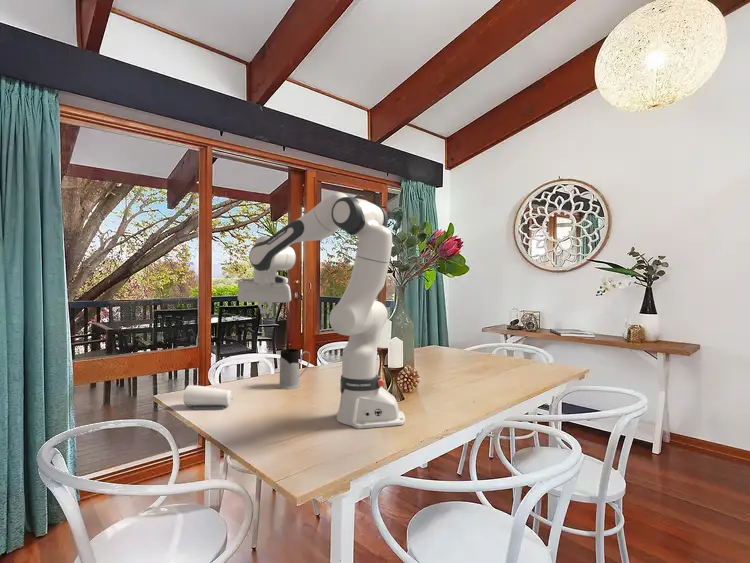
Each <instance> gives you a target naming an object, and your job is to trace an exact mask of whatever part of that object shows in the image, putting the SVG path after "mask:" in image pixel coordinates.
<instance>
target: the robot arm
mask: <svg viewBox="0 0 750 563" xmlns="http://www.w3.org/2000/svg"><path fill="white" fill-rule="evenodd" d="M388 223H389V218H388V214H387V211H386V210H385V209H384V208H383V207H382V206H381V205H378V204H376V203H372V202H369V201H368V200H366V199H361V198H356V197H354V196H348V195H347V194H346V193H344V192H334V193H332V194H330V195H329V196H327V197H326V198H324V199H323V200H321V201H320V202H319V203H317V205H315V206H314V207H313V208H311V210H309V211H308V212H307V213H305V214H304V215H302V216H301V217H299V218H297V219H295V220H293V221H291V222H290V223H288V224H287V225H285V226H283V227H282V228H281V229H279V230H278V231H277V232H275V233H274V234H273V235H271V236H268V235H267V236H260V237H258V238H256V240H255V242H254V245H253V246H252V248H250V251H249V254H248V258H249V262H250V264H251V266H252V267H253V269H252V270H253V274H252V275H253V277H248V278H245V277H243V278H241V279H239V280H238V282H237V288H238V292H237V300H238V302H240V303H257V306H258V308H259V311H260V315H266V314H267V315H268V314H269V312H270V311H269V310H270V309H271V307H272V304H273V303H290V302H291V301H292V292H291V287H290V285H289V278H287V277H285V276H283V275H279V274H278V273H277V272H278V271H288V270H291V269H293V267H295V265H296V263H297V253H296V251H295V249H294V248H293V247H291V246H292V245H293V244H296V243H300V242H310V241H322V240H325V239H327V238H328V237H330V236H332V235H333V234H335V232H337V231H338V230H339V229H340V230H342V231H344V232H346V233H347V234H348V235H349V236H356V238H357V242H358V243H357V249H356V253H355V258H354V262H353V267H352V269H351V270H352V271H351V276H350V279H349V282H348V284H347V286H346V288H345V290H344V292H343V294H342V296H341V298H340V300H339V301H338V302H337V304H336V305H335V306H334V307H333V308H332V309H331V311H330V313H329V324H330V327H331V328H332V330H333V331H334V332H335V333H337V334H338V335H340V336H341V335H342V336H348V337H349V338H348V341H347V344H346V346H345V347H344V349H343V351H342V362H341V363H342V369H341V376H340V379H339V380H340V381H339V382H340V384H339V385H340V386H339V389H340V401H339V406H338V407H339V408H338V411H337V414H336V420H337V421H338V422H339V423H341V424H344V425H348V426H351V427H353V428H355V429H358V430H361V429H368V428H371V429H372V428H384V427H391V426H392V427H393V426H402V425H404V424H405V423H406V416H405V414H404V412H403V411H402V410H400V409H399V404H398V401H397V399H396V397H395V396H394V395H393V394H391V393H390V392H389V391H388V390H386V389H385V388H383V386H384V385H385V381H384V379H382V377H381V376H380V375H377V353H378V352H377V351H378V346H379V342H380V339H381V338H380V337H381V334H382V330H383V328H384V326H385V324H386V322H387V320H388V315H389V314H388V309H387V308H386V305H385V304H384V303H383V302H380V301H378V300H377V297H378V295H379V293H380V292H381V291H382V290H383V289H384V286H385V285H386V280H387V275H388V272H389V271H388V270H389V266H390V261H391V255H392V248H393V235H392V234H393V233H392V231H391V230H390V229H389V228H388V227H387V226H388ZM263 303H266V305H267V307H266V308H263V306H262V305H263Z"/></svg>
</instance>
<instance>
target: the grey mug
mask: <svg viewBox="0 0 750 563" xmlns="http://www.w3.org/2000/svg"><path fill="white" fill-rule="evenodd" d="M305 353H307V354H308V362H307V365H306V366H305V368H304V370H303V371H301V372H300V363H302V360H303V355H304V354H305ZM299 357H300V358H299ZM310 361H311V354H310V352H308V351H305V350H304V351H302V352H301V355H300V350H299V349H297V348H296V349H295V348H285V349H281V350H280V358H279V385H278V388H279V389H281V390H295V389H298V388H300V387H301V386H300V378H301V377H302V375H303V374H304V373H305V372H306V371H307V369H308V367H309V365H310Z"/></svg>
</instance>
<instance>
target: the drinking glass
mask: <svg viewBox="0 0 750 563" xmlns="http://www.w3.org/2000/svg"><path fill="white" fill-rule="evenodd" d="M232 400H233V391H232V390H230V389H223V388H217V387H212V386H211V387H210V386H205V385H193V384H190V385H189V384H188V385H187V386H186V388H185V389H184V392H183V396H182V401H183V404H184V405H185V406H194V407H195V406H212V405H224V406H226V407H227V406H230V405H231V403H232Z"/></svg>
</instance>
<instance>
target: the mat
mask: <svg viewBox="0 0 750 563" xmlns="http://www.w3.org/2000/svg"><path fill="white" fill-rule="evenodd" d="M226 407H227V406H224V405H212V406H194V407H193V408H192V409H193V411H202V410H203V411H205V410H207V411H208V410H209V411H211V410H215V411H216V410H218V411H220V410H223V411H224V410H225V408H226Z"/></svg>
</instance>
